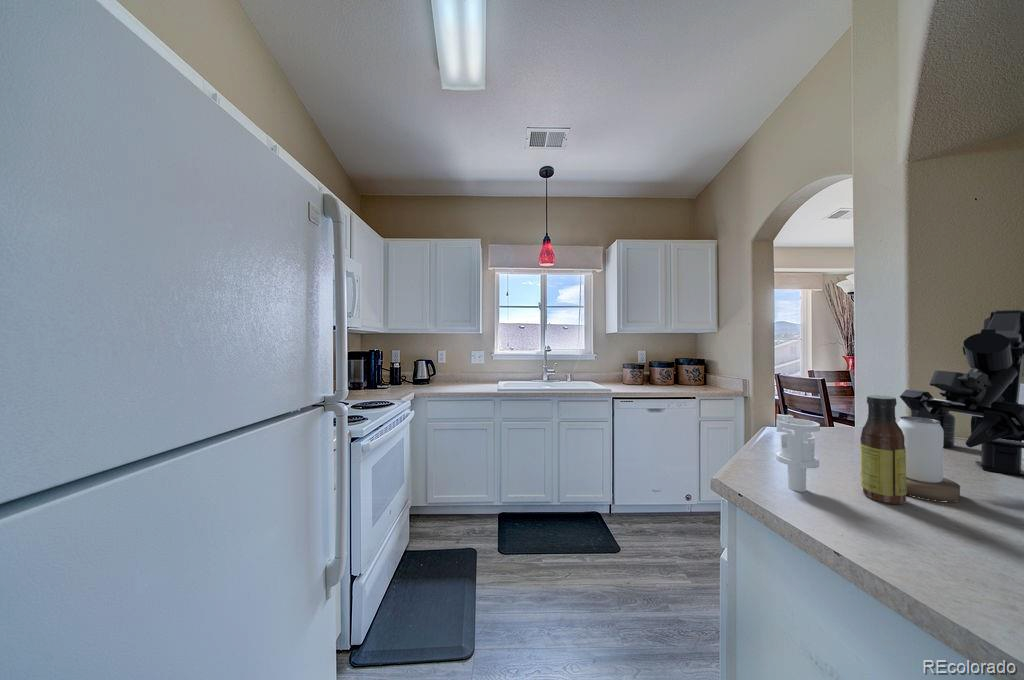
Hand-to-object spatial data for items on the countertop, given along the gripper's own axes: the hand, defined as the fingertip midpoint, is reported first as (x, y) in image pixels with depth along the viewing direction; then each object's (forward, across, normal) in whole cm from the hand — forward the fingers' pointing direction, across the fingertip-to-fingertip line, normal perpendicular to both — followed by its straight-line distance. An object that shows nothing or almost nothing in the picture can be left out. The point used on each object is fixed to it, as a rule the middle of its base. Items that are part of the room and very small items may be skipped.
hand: (937, 438), depth 76 cm
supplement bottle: (-19, -25, +35) cm, 47 cm away
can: (+9, 0, +2) cm, 9 cm away
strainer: (+28, -4, -13) cm, 31 cm away
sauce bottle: (+19, +2, -4) cm, 20 cm away
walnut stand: (+11, 0, +4) cm, 11 cm away
